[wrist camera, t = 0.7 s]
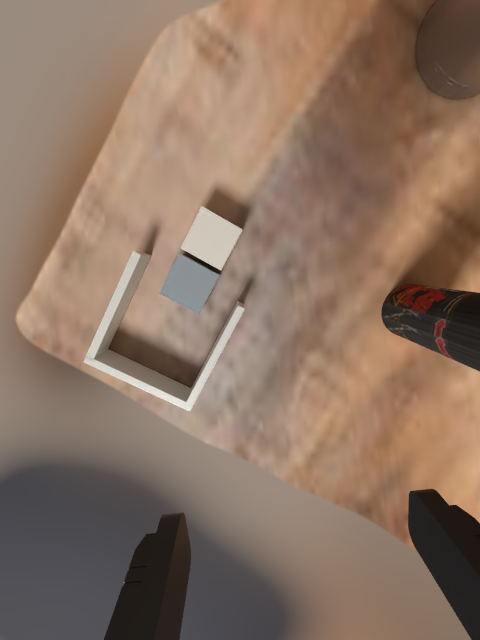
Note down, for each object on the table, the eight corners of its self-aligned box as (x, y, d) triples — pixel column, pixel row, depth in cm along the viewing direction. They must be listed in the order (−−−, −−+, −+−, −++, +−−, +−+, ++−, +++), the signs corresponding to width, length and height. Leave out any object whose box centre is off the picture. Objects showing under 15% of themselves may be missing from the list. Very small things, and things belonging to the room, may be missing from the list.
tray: (144, 252, 31) (133, 250, 28) (243, 303, 32) (244, 308, 29) (98, 351, 33) (83, 362, 30) (194, 396, 34) (189, 411, 31)
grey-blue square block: (184, 254, 31) (179, 253, 28) (220, 274, 32) (219, 275, 29) (165, 290, 32) (159, 293, 29) (202, 309, 33) (199, 314, 30)
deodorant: (384, 340, 34) (502, 401, 19) (378, 290, 32) (499, 314, 18) (434, 329, 33) (593, 382, 19) (430, 279, 32) (596, 293, 18)
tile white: (204, 211, 31) (201, 206, 28) (241, 232, 31) (242, 229, 28) (185, 249, 31) (180, 248, 28) (222, 269, 32) (220, 270, 29)
